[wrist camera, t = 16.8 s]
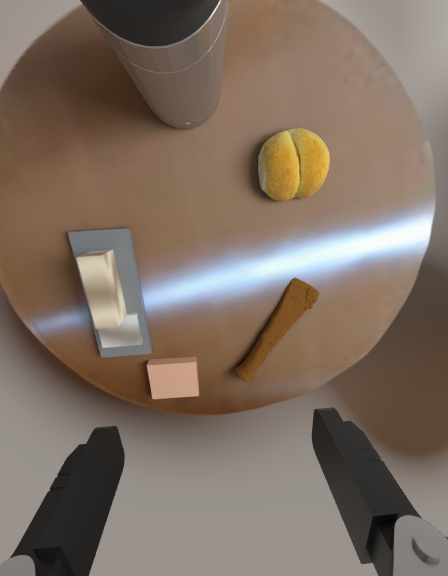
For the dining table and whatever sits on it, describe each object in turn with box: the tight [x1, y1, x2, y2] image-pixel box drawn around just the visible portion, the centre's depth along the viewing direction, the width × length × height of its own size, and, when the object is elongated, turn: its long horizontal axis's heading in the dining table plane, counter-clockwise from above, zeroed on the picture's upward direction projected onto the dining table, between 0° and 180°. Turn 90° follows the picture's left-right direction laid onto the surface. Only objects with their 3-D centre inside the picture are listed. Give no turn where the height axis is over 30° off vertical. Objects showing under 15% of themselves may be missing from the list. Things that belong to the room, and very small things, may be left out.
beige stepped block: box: [76, 250, 143, 348], centre depth 35 cm, size 15×6×4 cm, turn 4°
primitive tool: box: [235, 278, 319, 382], centre depth 40 cm, size 19×6×4 cm, turn 151°
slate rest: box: [68, 228, 152, 358], centre depth 37 cm, size 20×8×1 cm, turn 3°
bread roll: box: [258, 128, 330, 201], centre depth 31 cm, size 8×9×4 cm
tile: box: [147, 357, 199, 399], centre depth 42 cm, size 2×8×7 cm
